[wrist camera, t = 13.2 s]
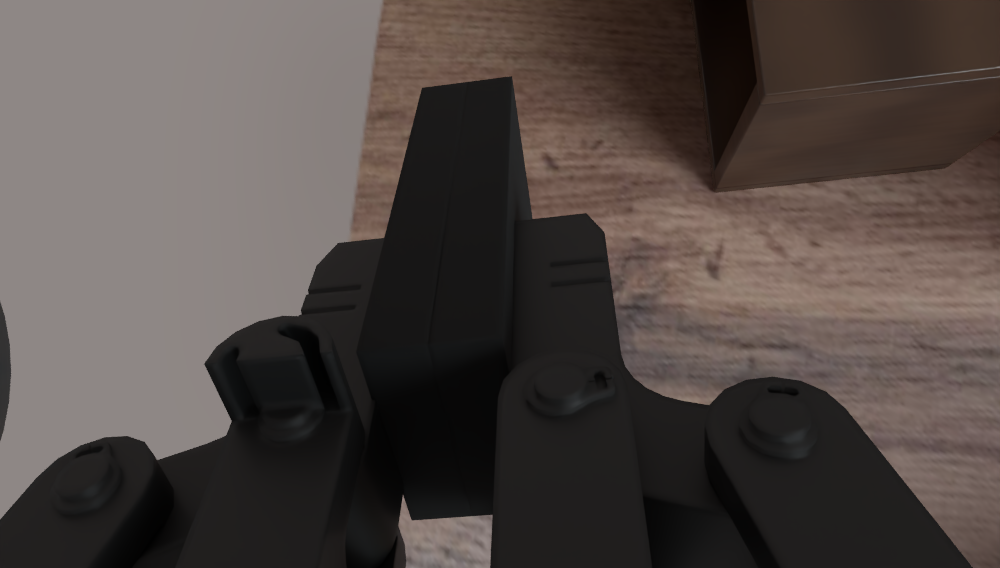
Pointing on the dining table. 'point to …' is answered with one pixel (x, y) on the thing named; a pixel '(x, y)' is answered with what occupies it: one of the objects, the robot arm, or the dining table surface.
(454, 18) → the dining table surface
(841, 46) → the cupboard
